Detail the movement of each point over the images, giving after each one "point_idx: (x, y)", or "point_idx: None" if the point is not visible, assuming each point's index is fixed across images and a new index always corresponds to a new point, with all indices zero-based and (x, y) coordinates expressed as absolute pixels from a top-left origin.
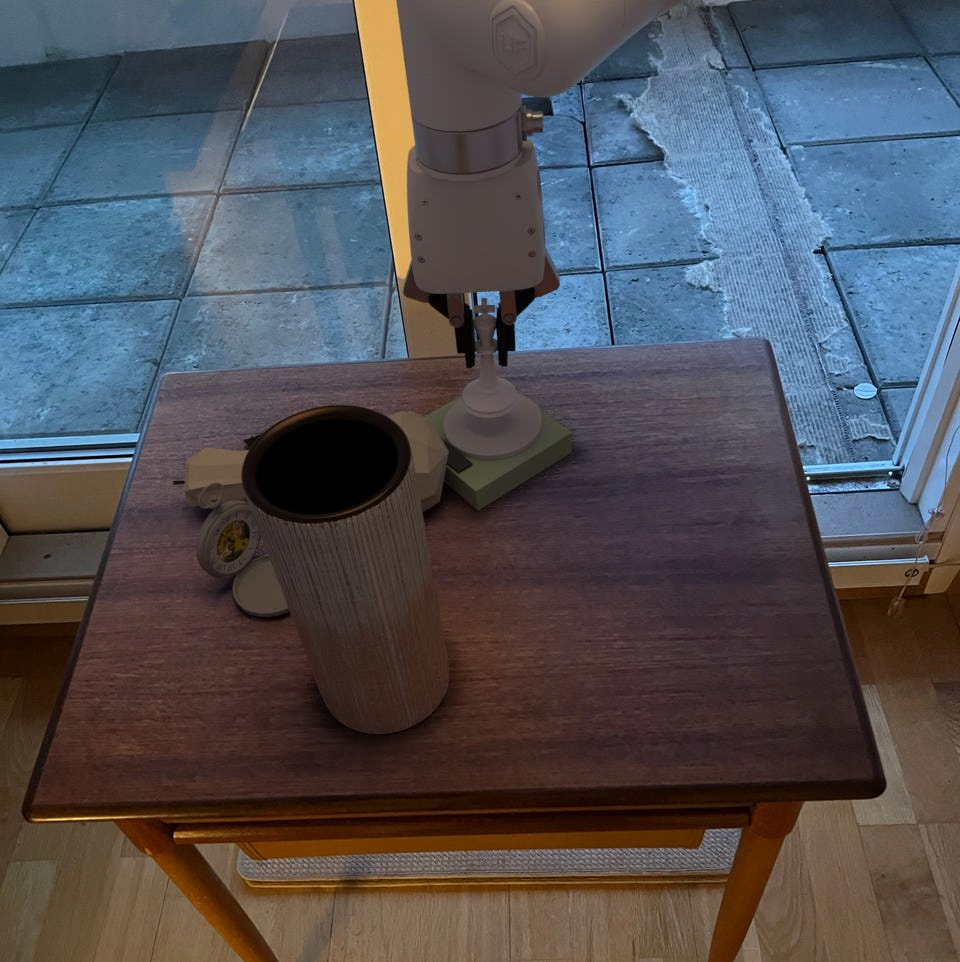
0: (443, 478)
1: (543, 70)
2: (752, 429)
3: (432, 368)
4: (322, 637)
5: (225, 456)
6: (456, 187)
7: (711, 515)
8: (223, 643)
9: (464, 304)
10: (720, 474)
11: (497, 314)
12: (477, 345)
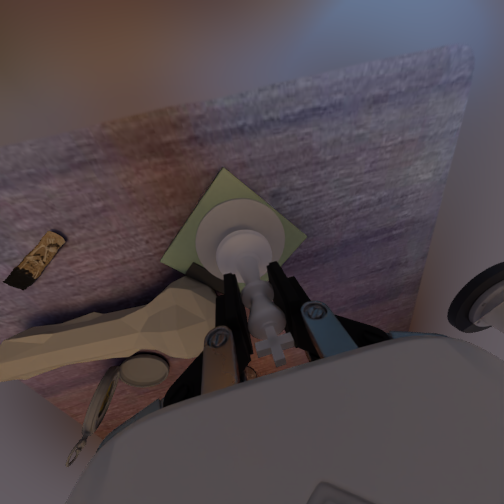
0: None
1: None
2: (428, 178)
3: (129, 120)
4: None
5: (25, 363)
6: None
7: (380, 264)
8: (140, 392)
9: (237, 352)
10: (394, 230)
11: (288, 320)
12: (247, 304)
